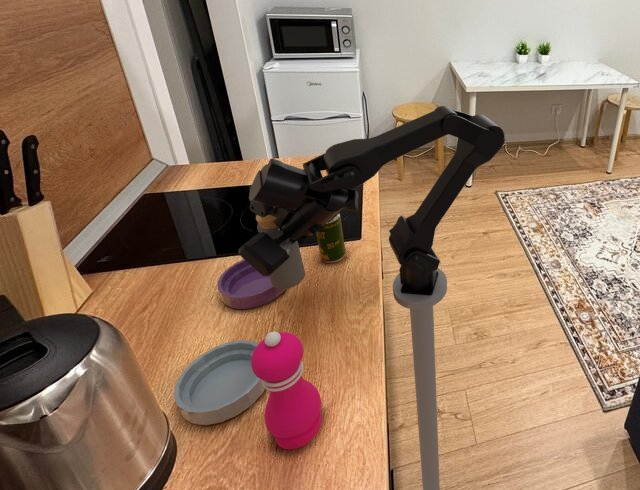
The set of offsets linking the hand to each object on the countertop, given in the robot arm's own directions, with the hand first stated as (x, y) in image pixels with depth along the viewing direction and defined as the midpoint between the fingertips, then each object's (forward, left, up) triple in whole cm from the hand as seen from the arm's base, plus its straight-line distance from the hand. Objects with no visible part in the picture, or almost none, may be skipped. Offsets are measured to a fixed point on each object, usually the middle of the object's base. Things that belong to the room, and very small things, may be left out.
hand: (274, 247), depth 77 cm
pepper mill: (-14, +23, -13) cm, 31 cm away
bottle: (-1, 0, -7) cm, 7 cm away
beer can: (-3, -14, -13) cm, 19 cm away
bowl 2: (0, +18, -13) cm, 23 cm away
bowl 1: (+8, -3, -13) cm, 16 cm away
